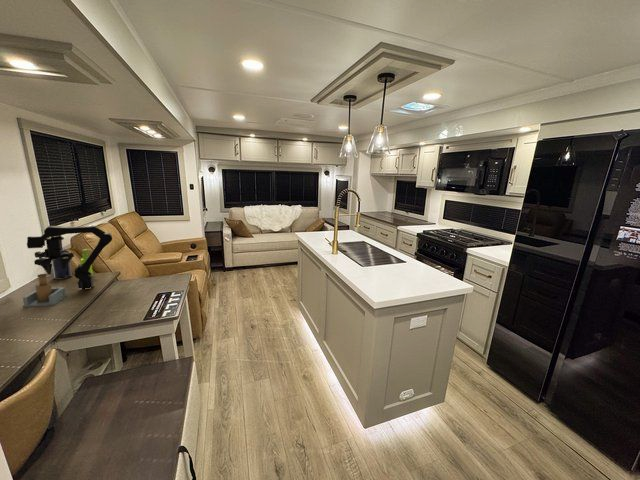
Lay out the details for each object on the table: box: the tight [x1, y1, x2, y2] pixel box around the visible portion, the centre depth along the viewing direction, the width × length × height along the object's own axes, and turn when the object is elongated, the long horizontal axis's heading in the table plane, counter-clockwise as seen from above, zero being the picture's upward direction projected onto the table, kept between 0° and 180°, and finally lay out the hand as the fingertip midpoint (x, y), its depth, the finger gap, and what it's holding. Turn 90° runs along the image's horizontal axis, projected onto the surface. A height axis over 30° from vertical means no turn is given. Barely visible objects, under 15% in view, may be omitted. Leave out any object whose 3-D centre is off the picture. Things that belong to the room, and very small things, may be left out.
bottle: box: [51, 236, 73, 279], centre depth 179 cm, size 9×9×30 cm
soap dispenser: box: [79, 248, 94, 276], centre depth 185 cm, size 6×7×20 cm
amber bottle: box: [35, 273, 52, 302], centre depth 146 cm, size 6×6×15 cm
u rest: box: [22, 287, 67, 308], centre depth 147 cm, size 12×13×6 cm
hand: (56, 271), depth 158 cm, fingers open, 9 cm apart
